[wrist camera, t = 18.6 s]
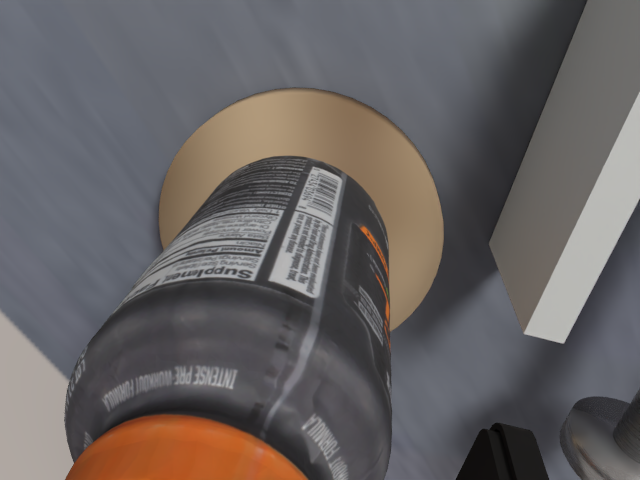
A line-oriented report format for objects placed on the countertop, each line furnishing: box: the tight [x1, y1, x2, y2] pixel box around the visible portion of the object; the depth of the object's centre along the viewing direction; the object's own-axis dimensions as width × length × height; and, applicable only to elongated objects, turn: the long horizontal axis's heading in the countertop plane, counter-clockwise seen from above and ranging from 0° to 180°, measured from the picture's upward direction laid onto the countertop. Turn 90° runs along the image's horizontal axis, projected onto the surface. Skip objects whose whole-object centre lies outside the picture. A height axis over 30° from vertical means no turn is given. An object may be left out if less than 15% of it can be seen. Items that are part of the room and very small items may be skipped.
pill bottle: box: [64, 155, 392, 480], centre depth 12 cm, size 6×6×11 cm
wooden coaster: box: [159, 88, 444, 332], centre depth 18 cm, size 9×9×1 cm
